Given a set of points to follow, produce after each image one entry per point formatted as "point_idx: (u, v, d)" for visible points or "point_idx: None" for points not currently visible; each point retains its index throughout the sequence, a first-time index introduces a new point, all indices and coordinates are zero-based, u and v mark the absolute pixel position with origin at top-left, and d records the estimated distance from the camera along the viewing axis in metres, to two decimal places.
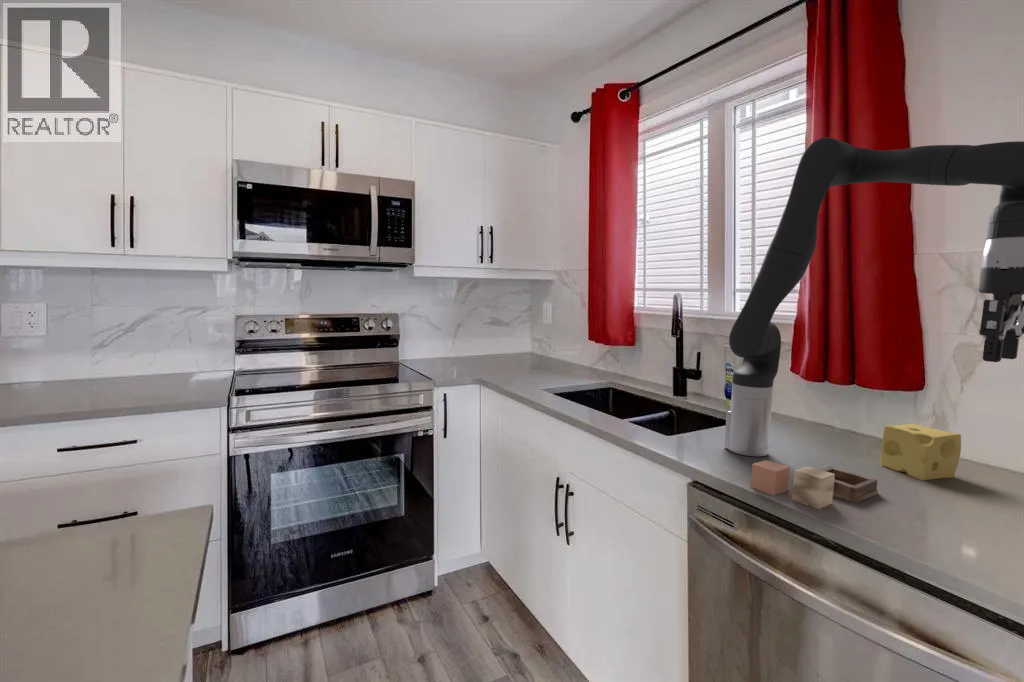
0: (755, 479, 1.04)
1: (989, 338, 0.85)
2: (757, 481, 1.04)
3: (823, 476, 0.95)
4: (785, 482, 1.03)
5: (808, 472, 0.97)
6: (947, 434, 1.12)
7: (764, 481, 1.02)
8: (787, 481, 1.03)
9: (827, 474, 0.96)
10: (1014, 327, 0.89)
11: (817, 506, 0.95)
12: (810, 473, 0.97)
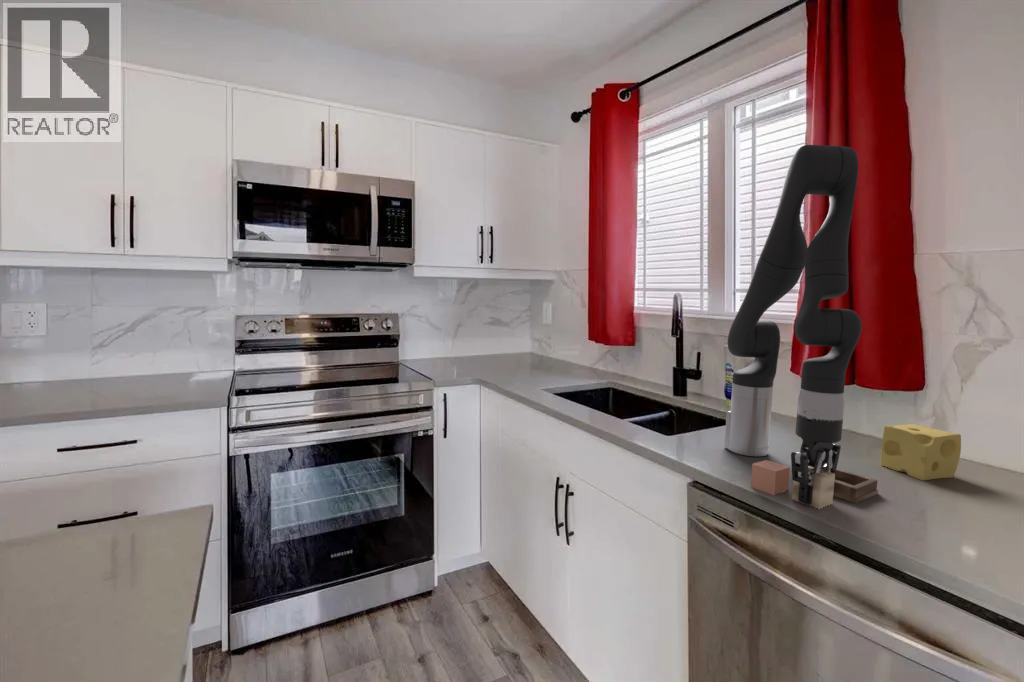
0: (755, 479, 1.04)
1: (801, 483, 0.96)
2: (757, 481, 1.04)
3: (824, 476, 0.95)
4: (785, 481, 1.03)
5: None
6: (947, 434, 1.12)
7: (764, 481, 1.02)
8: (787, 481, 1.03)
9: (827, 474, 0.96)
10: (823, 468, 0.98)
11: (817, 506, 0.95)
12: None
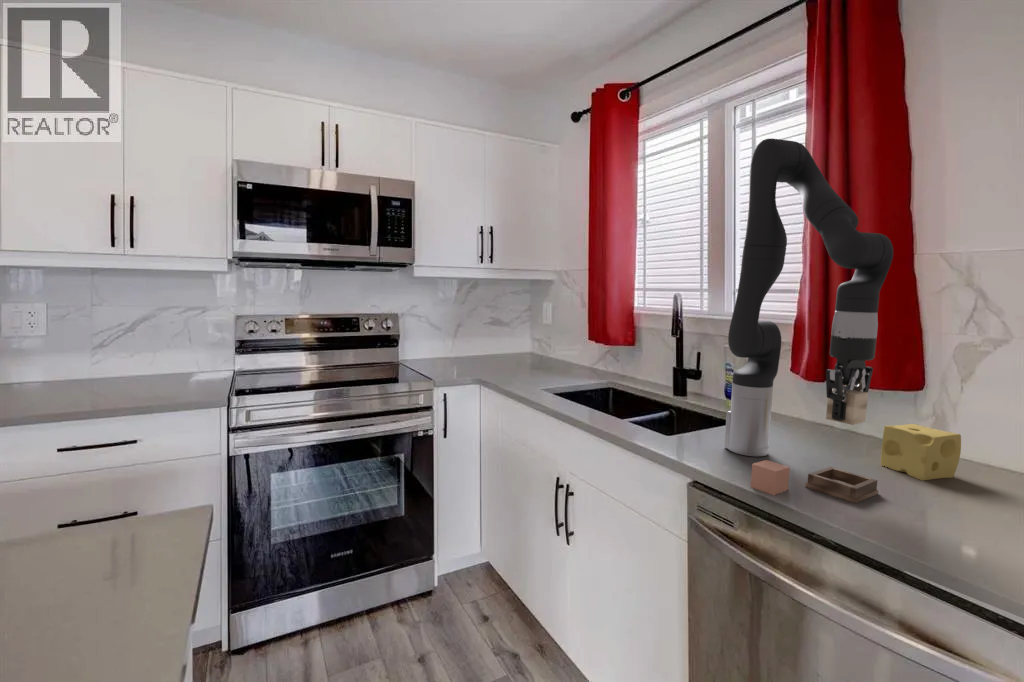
0: (755, 479, 1.04)
1: (835, 400, 1.00)
2: (757, 481, 1.04)
3: (857, 393, 1.00)
4: (785, 481, 1.03)
5: None
6: (947, 434, 1.12)
7: (764, 481, 1.02)
8: (787, 481, 1.03)
9: (861, 392, 1.01)
10: (856, 388, 1.02)
11: (851, 421, 0.99)
12: None
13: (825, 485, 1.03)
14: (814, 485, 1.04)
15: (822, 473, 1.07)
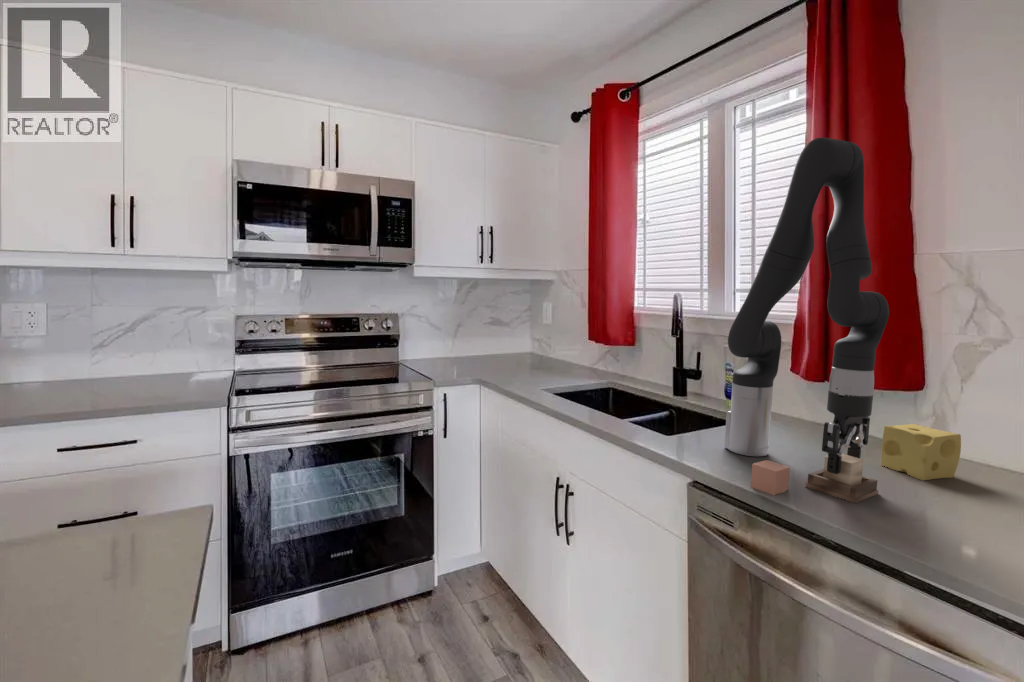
0: (755, 479, 1.04)
1: (830, 454, 1.01)
2: (757, 481, 1.04)
3: (853, 461, 1.01)
4: (785, 482, 1.03)
5: None
6: (947, 434, 1.12)
7: (764, 481, 1.02)
8: (787, 481, 1.03)
9: (856, 459, 1.02)
10: (856, 440, 1.04)
11: None
12: None
13: (825, 485, 1.03)
14: (814, 485, 1.04)
15: (822, 473, 1.07)
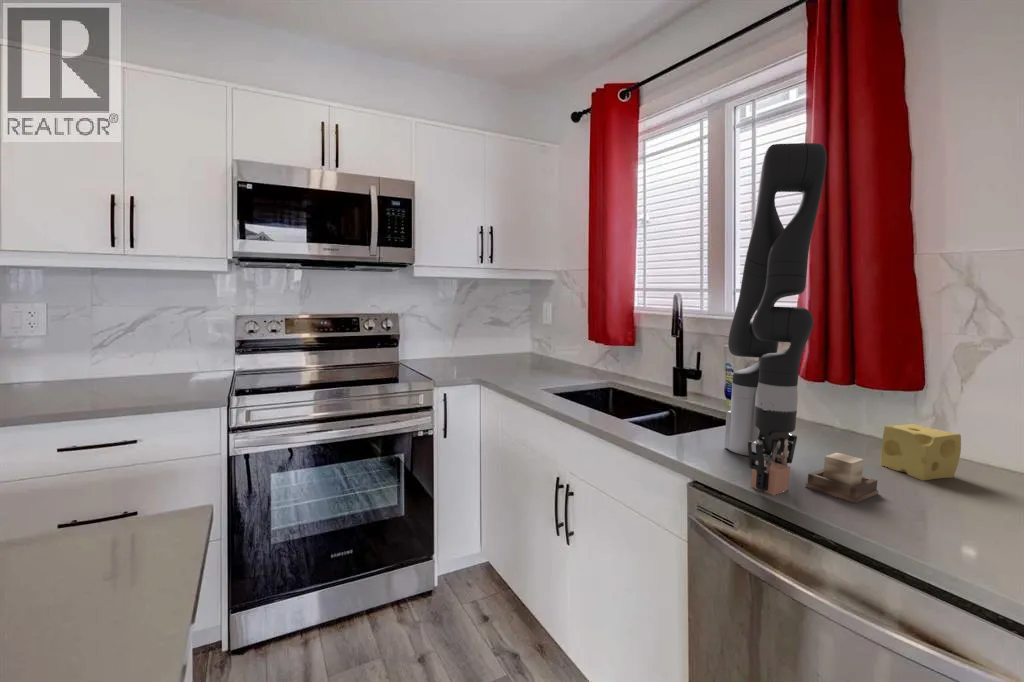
0: (755, 479, 1.04)
1: (758, 471, 1.02)
2: None
3: (853, 461, 1.01)
4: (785, 481, 1.03)
5: (838, 457, 1.03)
6: (947, 434, 1.12)
7: None
8: (787, 481, 1.03)
9: (856, 459, 1.02)
10: (780, 457, 1.04)
11: None
12: (840, 458, 1.03)
13: (825, 485, 1.03)
14: (814, 485, 1.04)
15: (822, 473, 1.07)
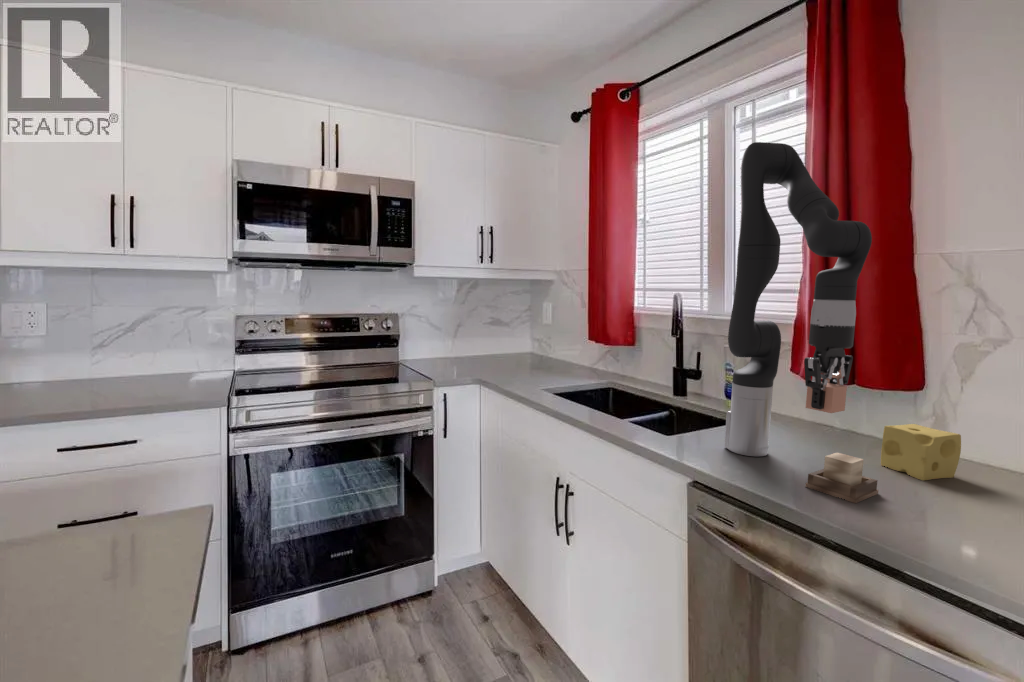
0: (811, 399, 1.02)
1: (814, 389, 1.00)
2: None
3: (853, 461, 1.01)
4: (842, 400, 1.01)
5: (838, 457, 1.03)
6: (947, 434, 1.12)
7: None
8: (844, 400, 1.01)
9: (856, 459, 1.02)
10: (836, 377, 1.02)
11: None
12: (840, 458, 1.03)
13: (825, 485, 1.03)
14: (814, 485, 1.04)
15: (822, 473, 1.07)
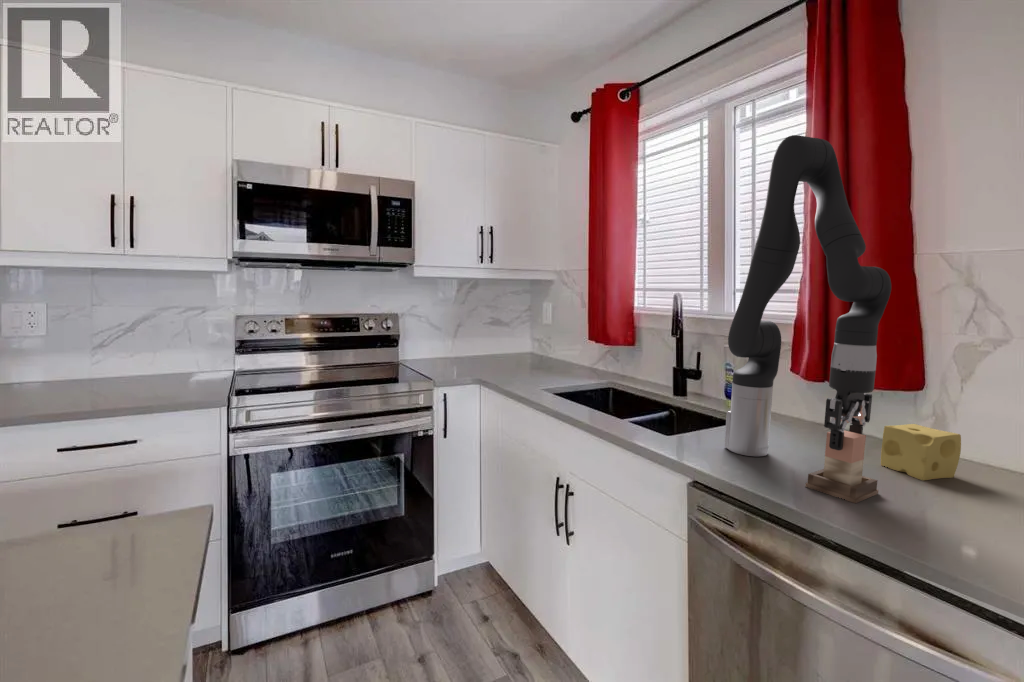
0: None
1: (832, 430, 1.00)
2: (833, 449, 1.03)
3: None
4: (861, 450, 1.02)
5: None
6: (947, 434, 1.12)
7: None
8: (863, 449, 1.02)
9: None
10: (858, 417, 1.04)
11: None
12: None
13: (825, 485, 1.03)
14: (814, 485, 1.04)
15: (822, 473, 1.07)
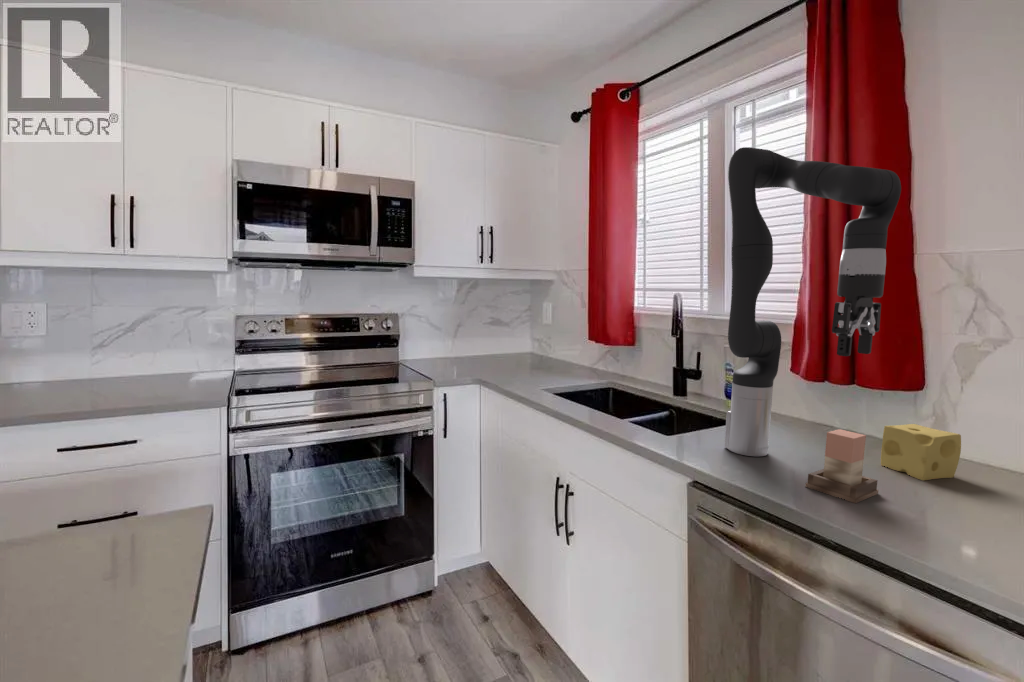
0: (830, 447, 1.03)
1: (840, 335, 0.98)
2: (833, 449, 1.03)
3: None
4: (861, 450, 1.02)
5: None
6: (947, 434, 1.12)
7: (840, 449, 1.02)
8: (863, 449, 1.02)
9: None
10: (867, 326, 1.02)
11: None
12: None
13: (825, 485, 1.03)
14: (814, 485, 1.04)
15: (822, 473, 1.07)
